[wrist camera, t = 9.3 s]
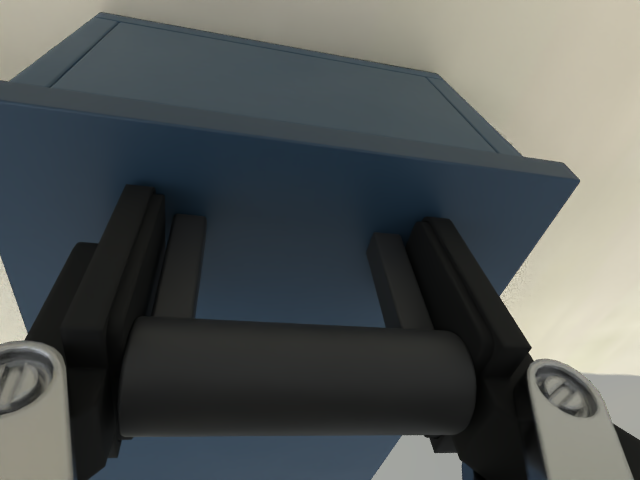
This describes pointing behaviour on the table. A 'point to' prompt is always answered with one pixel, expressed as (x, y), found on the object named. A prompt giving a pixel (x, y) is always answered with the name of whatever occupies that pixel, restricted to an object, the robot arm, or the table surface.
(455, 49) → the table surface
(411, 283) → the lunchbox lid
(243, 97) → the box
